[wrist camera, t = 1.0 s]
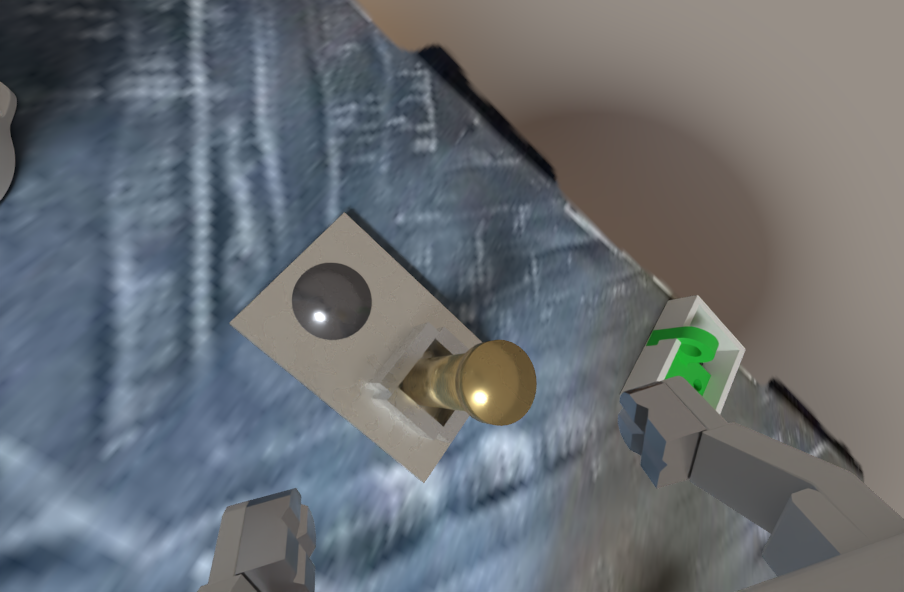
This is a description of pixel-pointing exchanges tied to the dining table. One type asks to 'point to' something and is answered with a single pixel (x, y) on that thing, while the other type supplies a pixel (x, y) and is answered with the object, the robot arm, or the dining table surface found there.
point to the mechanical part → (689, 353)
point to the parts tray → (661, 356)
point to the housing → (360, 340)
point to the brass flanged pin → (477, 382)
